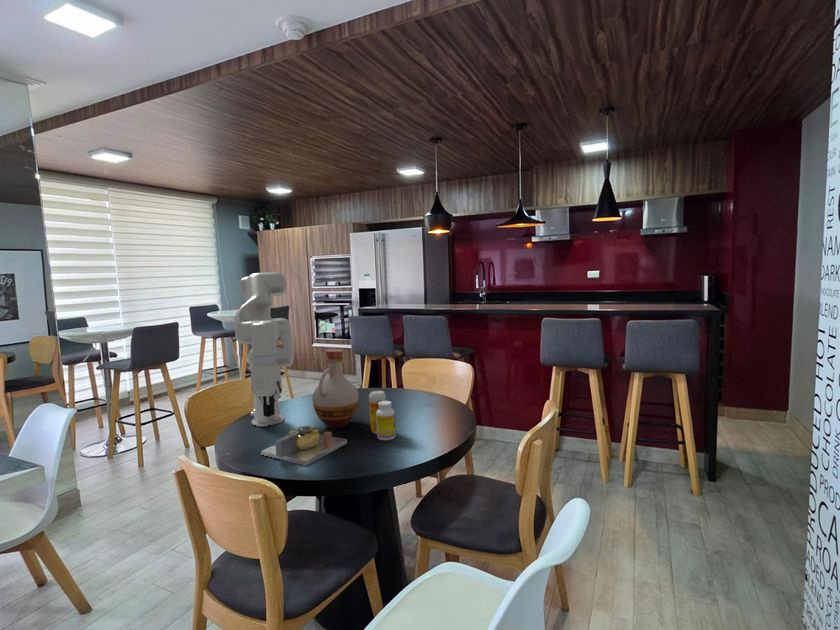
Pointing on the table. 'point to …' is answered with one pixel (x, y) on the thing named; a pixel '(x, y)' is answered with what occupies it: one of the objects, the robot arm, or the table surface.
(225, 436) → the table surface
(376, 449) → the table surface
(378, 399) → the orange pill bottle
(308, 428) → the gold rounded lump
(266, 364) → the robot arm
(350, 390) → the jug
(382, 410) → the supplement bottle
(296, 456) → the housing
